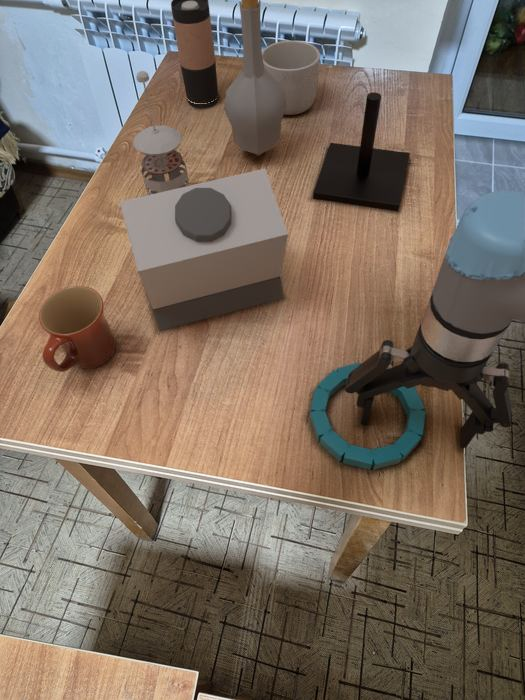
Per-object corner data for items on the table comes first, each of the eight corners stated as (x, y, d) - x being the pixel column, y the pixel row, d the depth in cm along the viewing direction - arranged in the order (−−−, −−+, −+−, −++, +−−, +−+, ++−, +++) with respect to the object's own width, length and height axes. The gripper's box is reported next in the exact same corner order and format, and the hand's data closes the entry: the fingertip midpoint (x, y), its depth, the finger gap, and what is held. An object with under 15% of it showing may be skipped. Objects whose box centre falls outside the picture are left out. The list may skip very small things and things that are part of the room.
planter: (261, 121, 112) (259, 70, 103) (263, 90, 119) (261, 40, 110) (317, 120, 111) (320, 69, 102) (316, 89, 118) (319, 39, 109)
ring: (426, 383, 73) (429, 375, 72) (414, 481, 65) (418, 475, 64) (323, 361, 76) (324, 353, 74) (300, 453, 68) (300, 447, 66)
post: (408, 159, 102) (427, 76, 89) (398, 211, 94) (417, 128, 80) (329, 148, 105) (336, 67, 92) (312, 198, 97) (317, 116, 83)
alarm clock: (258, 243, 91) (252, 139, 74) (287, 308, 82) (288, 208, 65) (144, 271, 88) (111, 170, 71) (162, 342, 79) (129, 246, 62)
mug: (83, 323, 82) (60, 279, 73) (132, 336, 80) (114, 293, 71) (42, 384, 76) (11, 345, 67) (94, 400, 74) (69, 362, 65)
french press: (148, 226, 94) (109, 93, 73) (144, 186, 101) (107, 54, 80) (200, 217, 95) (177, 83, 74) (193, 179, 101) (169, 46, 81)
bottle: (277, 174, 101) (274, 5, 76) (223, 167, 103) (203, -1, 78) (290, 141, 107) (292, -26, 82) (239, 135, 109) (225, -31, 84)
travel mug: (185, 93, 119) (168, -4, 103) (217, 88, 120) (206, -9, 103) (188, 111, 115) (171, 12, 99) (221, 106, 116) (211, 7, 99)
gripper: (586, 328, 51) (508, 423, 69) (343, 284, 56) (329, 384, 73) (591, 391, 47) (507, 475, 65) (330, 338, 52) (318, 430, 69)
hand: (413, 427), depth 69 cm, fingers open, 12 cm apart
